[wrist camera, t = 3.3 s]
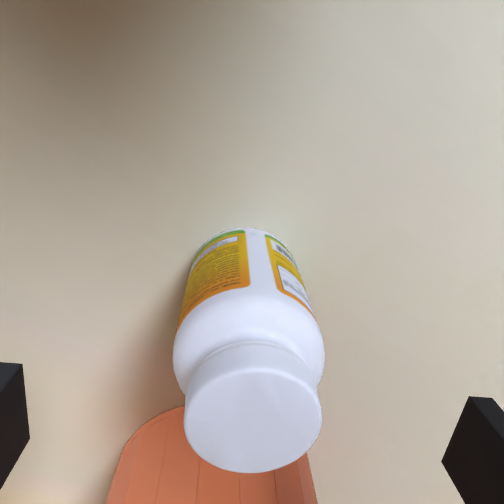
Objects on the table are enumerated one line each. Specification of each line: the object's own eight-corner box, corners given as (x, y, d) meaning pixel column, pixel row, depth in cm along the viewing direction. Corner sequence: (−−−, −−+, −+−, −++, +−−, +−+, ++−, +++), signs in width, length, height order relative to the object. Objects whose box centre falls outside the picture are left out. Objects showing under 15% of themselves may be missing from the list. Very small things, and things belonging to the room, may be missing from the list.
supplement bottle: (182, 311, 21) (146, 482, 12) (199, 215, 19) (170, 333, 10) (282, 327, 21) (318, 499, 13) (308, 235, 19) (373, 364, 11)
